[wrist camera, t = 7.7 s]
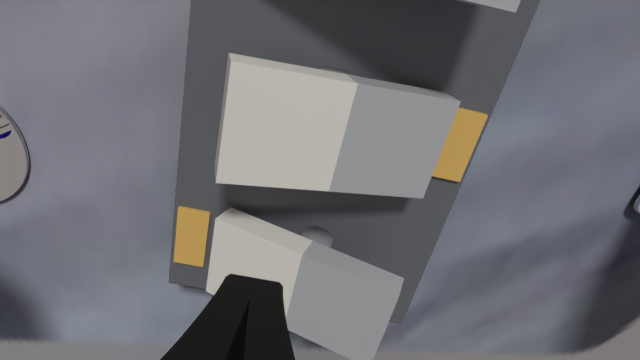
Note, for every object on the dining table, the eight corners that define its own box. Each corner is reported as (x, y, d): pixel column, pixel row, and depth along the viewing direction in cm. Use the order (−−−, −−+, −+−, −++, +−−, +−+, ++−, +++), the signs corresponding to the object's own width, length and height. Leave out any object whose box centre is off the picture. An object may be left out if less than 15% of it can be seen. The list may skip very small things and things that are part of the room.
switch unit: (559, -127, 14) (608, -150, 12) (393, 290, 23) (402, 326, 20) (231, -226, 13) (210, -273, 11) (184, 252, 22) (167, 285, 19)
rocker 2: (409, 260, 17) (399, 295, 15) (381, 327, 19) (369, 368, 16) (246, 195, 19) (215, 218, 17) (234, 262, 20) (205, 291, 18)
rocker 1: (426, 82, 16) (460, 101, 14) (396, 169, 18) (422, 198, 16) (226, 44, 14) (231, 61, 11) (213, 151, 15) (215, 183, 13)
